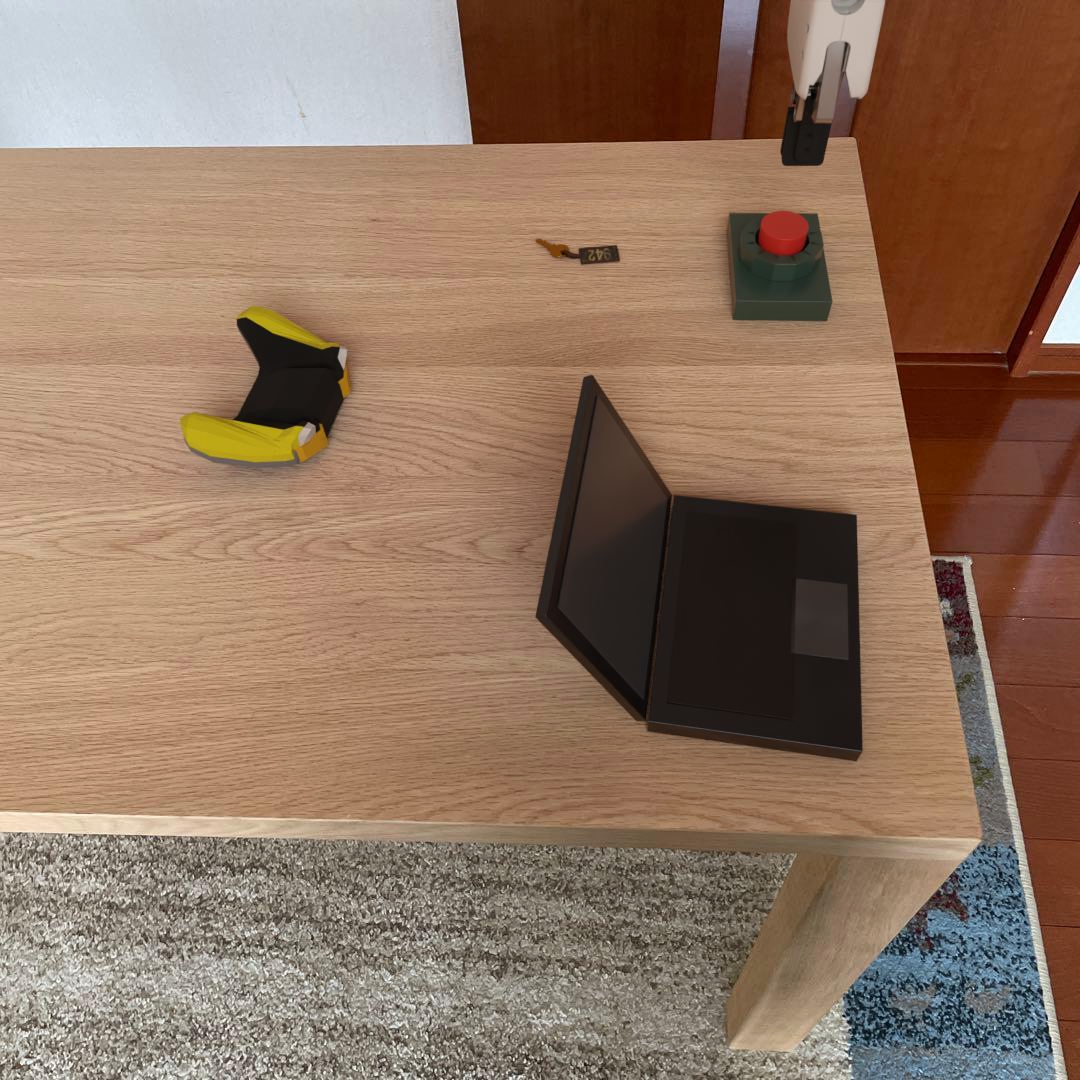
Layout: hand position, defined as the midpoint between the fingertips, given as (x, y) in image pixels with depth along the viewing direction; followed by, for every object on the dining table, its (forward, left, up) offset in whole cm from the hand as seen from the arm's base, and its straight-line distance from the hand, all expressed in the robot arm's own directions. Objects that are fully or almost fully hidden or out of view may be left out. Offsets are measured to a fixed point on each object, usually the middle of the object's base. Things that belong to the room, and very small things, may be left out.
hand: (800, 159), depth 74 cm
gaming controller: (+45, -1, -12) cm, 46 cm away
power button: (0, 0, -8) cm, 8 cm away
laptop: (+18, +31, -12) cm, 38 cm away
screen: (+27, +26, -4) cm, 38 cm away
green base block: (0, 0, -12) cm, 12 cm away
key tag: (+15, -11, -12) cm, 22 cm away
